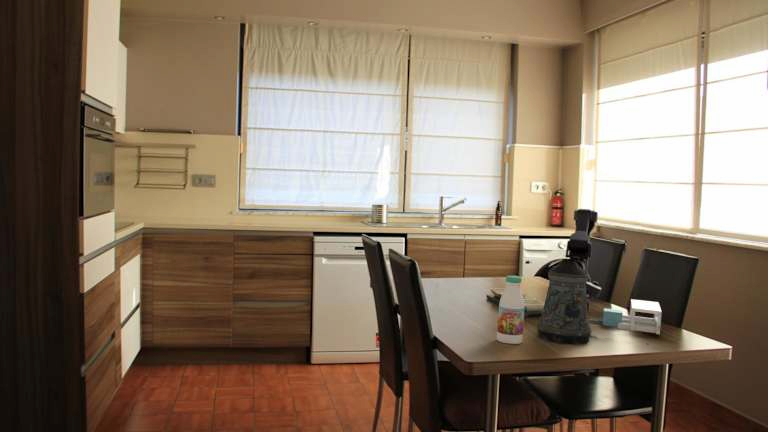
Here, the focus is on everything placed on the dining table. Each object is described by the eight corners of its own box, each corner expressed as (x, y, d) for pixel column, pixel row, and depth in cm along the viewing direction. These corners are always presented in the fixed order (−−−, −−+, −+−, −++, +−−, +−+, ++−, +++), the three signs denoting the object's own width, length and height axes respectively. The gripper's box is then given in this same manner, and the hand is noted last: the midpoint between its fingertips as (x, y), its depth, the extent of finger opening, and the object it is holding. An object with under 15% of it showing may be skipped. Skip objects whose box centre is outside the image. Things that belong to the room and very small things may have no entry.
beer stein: (553, 345, 190) (559, 263, 188) (523, 329, 209) (528, 254, 207) (601, 344, 194) (607, 264, 193) (567, 329, 213) (572, 255, 211)
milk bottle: (493, 337, 196) (498, 273, 194) (518, 338, 196) (522, 274, 195) (500, 344, 188) (504, 278, 187) (525, 345, 189) (530, 279, 187)
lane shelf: (592, 329, 214) (594, 303, 213) (594, 319, 231) (595, 295, 230) (659, 338, 207) (661, 311, 206) (656, 327, 223) (658, 302, 223)
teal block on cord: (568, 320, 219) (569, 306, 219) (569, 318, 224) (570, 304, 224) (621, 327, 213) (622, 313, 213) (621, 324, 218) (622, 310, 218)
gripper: (600, 279, 209) (597, 326, 210) (601, 272, 226) (598, 315, 227) (565, 276, 212) (562, 322, 213) (569, 269, 230) (566, 311, 231)
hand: (573, 317), depth 221 cm, fingers closed on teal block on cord, 3 cm apart
